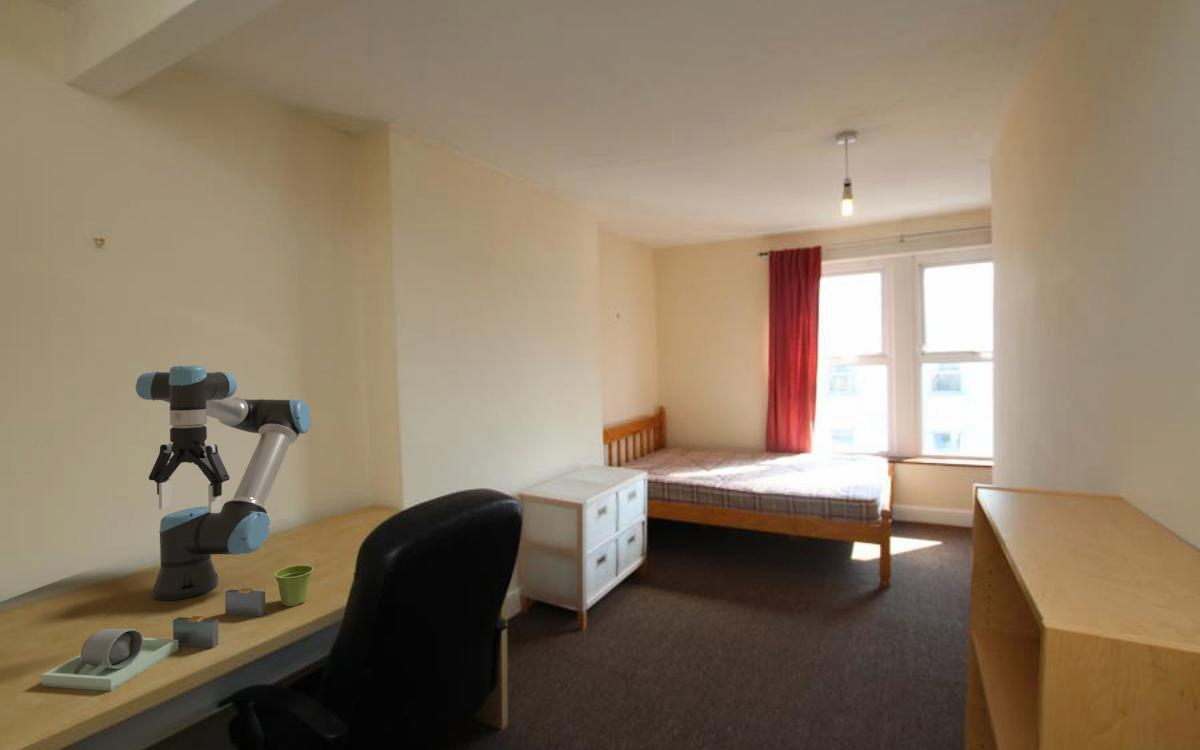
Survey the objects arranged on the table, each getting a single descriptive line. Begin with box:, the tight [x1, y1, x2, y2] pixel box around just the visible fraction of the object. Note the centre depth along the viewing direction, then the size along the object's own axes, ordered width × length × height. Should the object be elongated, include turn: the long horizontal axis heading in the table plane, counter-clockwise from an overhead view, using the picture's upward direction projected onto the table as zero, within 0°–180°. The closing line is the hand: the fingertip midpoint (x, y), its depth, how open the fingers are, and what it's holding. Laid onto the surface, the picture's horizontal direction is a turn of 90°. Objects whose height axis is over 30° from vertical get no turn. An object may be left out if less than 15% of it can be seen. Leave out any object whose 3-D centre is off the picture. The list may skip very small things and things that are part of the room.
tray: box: [41, 637, 179, 692], centre depth 118 cm, size 16×16×2 cm
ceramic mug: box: [72, 628, 144, 676], centre depth 116 cm, size 11×8×8 cm
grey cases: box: [172, 587, 266, 649], centre depth 135 cm, size 10×17×6 cm, turn 175°
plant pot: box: [274, 564, 314, 607], centre depth 150 cm, size 9×9×9 cm
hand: (189, 508), depth 139 cm, fingers open, 13 cm apart
